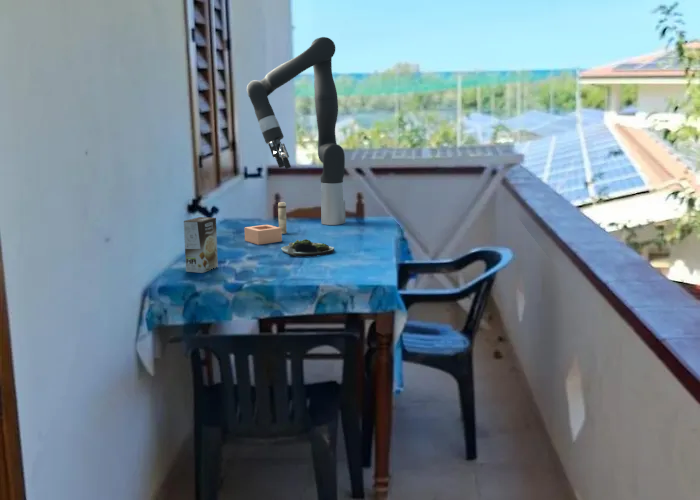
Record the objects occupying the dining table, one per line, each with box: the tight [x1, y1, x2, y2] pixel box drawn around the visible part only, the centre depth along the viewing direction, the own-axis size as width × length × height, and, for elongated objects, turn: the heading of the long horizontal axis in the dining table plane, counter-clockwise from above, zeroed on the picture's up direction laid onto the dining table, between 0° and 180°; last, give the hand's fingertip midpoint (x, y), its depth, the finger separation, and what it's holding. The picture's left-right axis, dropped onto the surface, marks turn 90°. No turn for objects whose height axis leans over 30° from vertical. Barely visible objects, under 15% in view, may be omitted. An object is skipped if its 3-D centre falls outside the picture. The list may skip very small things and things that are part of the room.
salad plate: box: [281, 238, 335, 257], centre depth 274 cm, size 19×18×5 cm
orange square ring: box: [244, 224, 283, 246], centre depth 293 cm, size 10×10×5 cm
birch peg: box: [277, 201, 288, 235], centre depth 308 cm, size 3×3×12 cm
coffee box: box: [183, 216, 219, 274], centre depth 246 cm, size 9×6×16 cm
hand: (285, 167), depth 312 cm, fingers open, 8 cm apart
